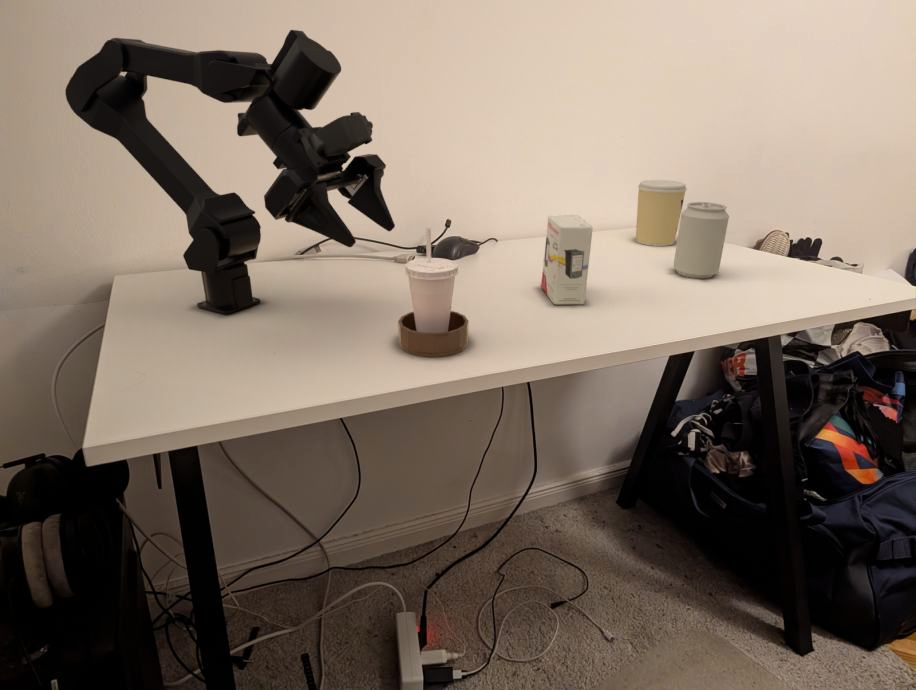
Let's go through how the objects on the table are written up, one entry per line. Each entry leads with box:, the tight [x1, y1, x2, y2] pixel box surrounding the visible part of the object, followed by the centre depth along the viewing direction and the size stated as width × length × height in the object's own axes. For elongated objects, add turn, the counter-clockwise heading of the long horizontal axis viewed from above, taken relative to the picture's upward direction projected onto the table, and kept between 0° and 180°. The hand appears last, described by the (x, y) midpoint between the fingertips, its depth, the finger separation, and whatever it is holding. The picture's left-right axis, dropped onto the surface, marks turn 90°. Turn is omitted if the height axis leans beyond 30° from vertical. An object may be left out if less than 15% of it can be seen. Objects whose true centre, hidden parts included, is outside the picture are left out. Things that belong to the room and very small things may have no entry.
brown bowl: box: [397, 310, 470, 358], centre depth 76 cm, size 9×9×3 cm
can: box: [672, 201, 730, 279], centre depth 103 cm, size 8×8×12 cm
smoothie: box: [404, 226, 459, 333], centre depth 74 cm, size 6×6×14 cm
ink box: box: [540, 214, 593, 305], centre depth 91 cm, size 9×5×12 cm, turn 6°
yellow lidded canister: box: [635, 179, 688, 247], centre depth 125 cm, size 9×9×12 cm
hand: (373, 236), depth 74 cm, fingers open, 9 cm apart
